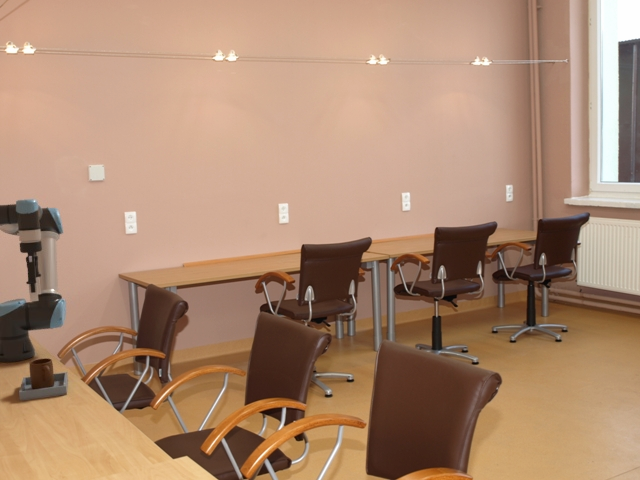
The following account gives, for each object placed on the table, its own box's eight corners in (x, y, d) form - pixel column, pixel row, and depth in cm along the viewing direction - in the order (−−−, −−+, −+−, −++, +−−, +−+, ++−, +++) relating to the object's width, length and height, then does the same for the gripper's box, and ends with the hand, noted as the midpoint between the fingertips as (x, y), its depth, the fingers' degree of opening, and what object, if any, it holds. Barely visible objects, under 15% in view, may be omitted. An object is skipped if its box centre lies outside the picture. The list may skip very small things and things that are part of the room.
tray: (24, 385, 255) (23, 377, 255) (67, 380, 260) (67, 372, 259) (19, 400, 239) (19, 392, 239) (66, 394, 244) (65, 386, 243)
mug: (61, 390, 246) (59, 363, 245) (38, 395, 242) (36, 368, 241) (50, 382, 256) (48, 356, 255) (28, 387, 251) (26, 361, 250)
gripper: (22, 238, 275) (27, 292, 278) (16, 245, 252) (21, 305, 254) (43, 237, 277) (48, 290, 280) (39, 244, 254) (44, 302, 256)
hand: (35, 297), depth 267 cm, fingers open, 13 cm apart
